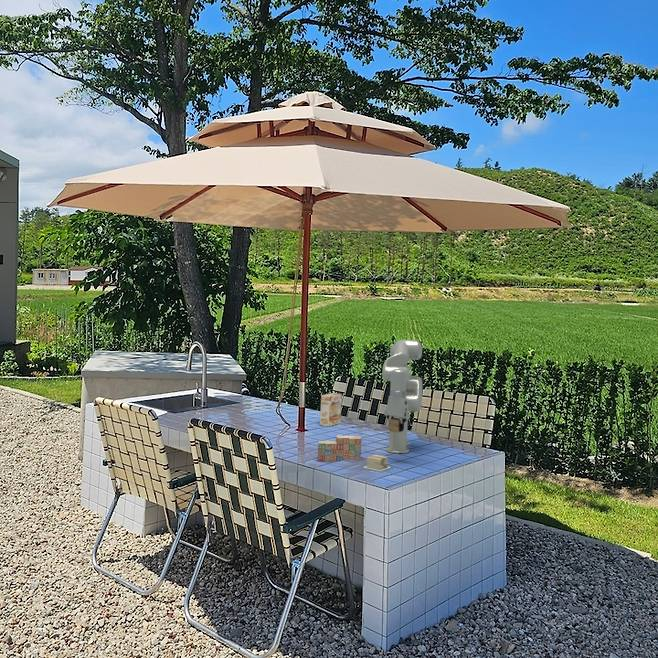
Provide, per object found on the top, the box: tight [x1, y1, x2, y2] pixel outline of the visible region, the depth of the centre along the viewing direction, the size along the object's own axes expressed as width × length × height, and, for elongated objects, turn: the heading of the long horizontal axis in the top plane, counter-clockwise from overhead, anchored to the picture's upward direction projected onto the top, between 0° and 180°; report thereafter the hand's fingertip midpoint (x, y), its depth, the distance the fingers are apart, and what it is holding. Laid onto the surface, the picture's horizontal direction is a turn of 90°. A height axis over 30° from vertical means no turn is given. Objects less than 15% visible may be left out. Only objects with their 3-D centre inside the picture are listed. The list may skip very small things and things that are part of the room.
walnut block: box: [388, 418, 402, 433], centre depth 344 cm, size 5×5×6 cm
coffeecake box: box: [319, 392, 343, 427], centre depth 440 cm, size 15×7×20 cm, turn 148°
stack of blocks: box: [317, 434, 362, 462], centre depth 349 cm, size 21×6×12 cm, turn 93°
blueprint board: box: [356, 463, 398, 474], centre depth 333 cm, size 14×14×1 cm
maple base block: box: [366, 454, 388, 470], centre depth 333 cm, size 7×7×5 cm
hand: (396, 429), depth 344 cm, fingers closed on walnut block, 5 cm apart
